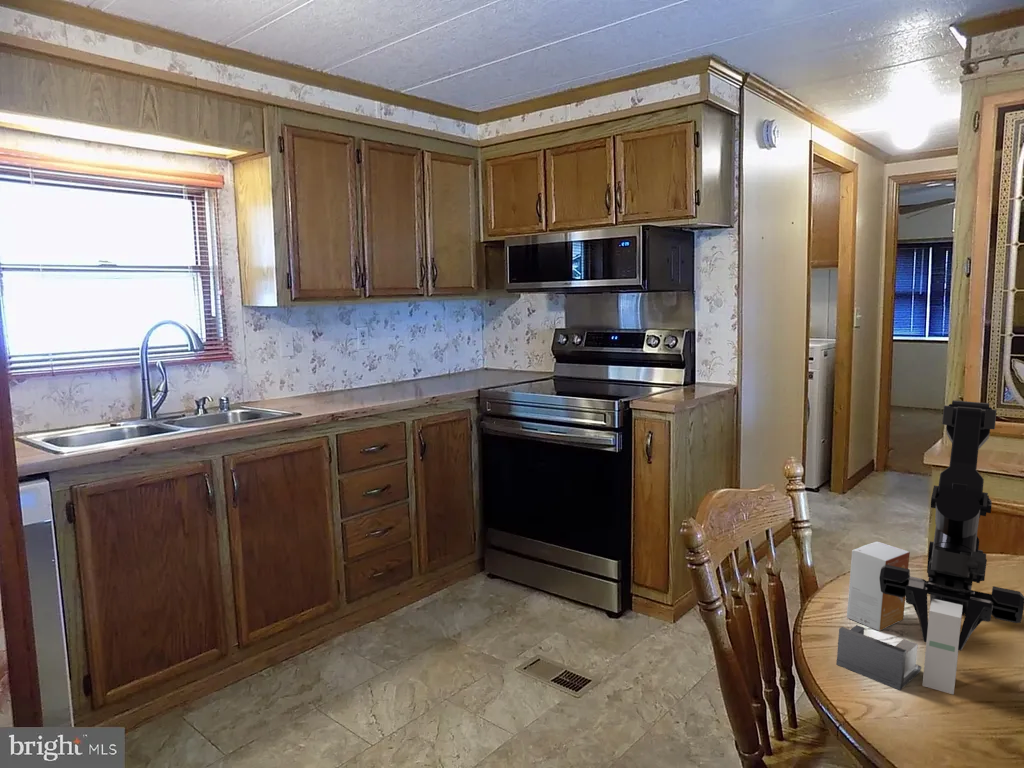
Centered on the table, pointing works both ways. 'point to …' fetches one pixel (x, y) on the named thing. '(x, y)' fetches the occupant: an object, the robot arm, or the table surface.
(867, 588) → the small box
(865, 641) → the gray open holder
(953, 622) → the block
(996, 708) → the table surface
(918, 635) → the table surface
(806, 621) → the table surface
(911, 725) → the table surface
